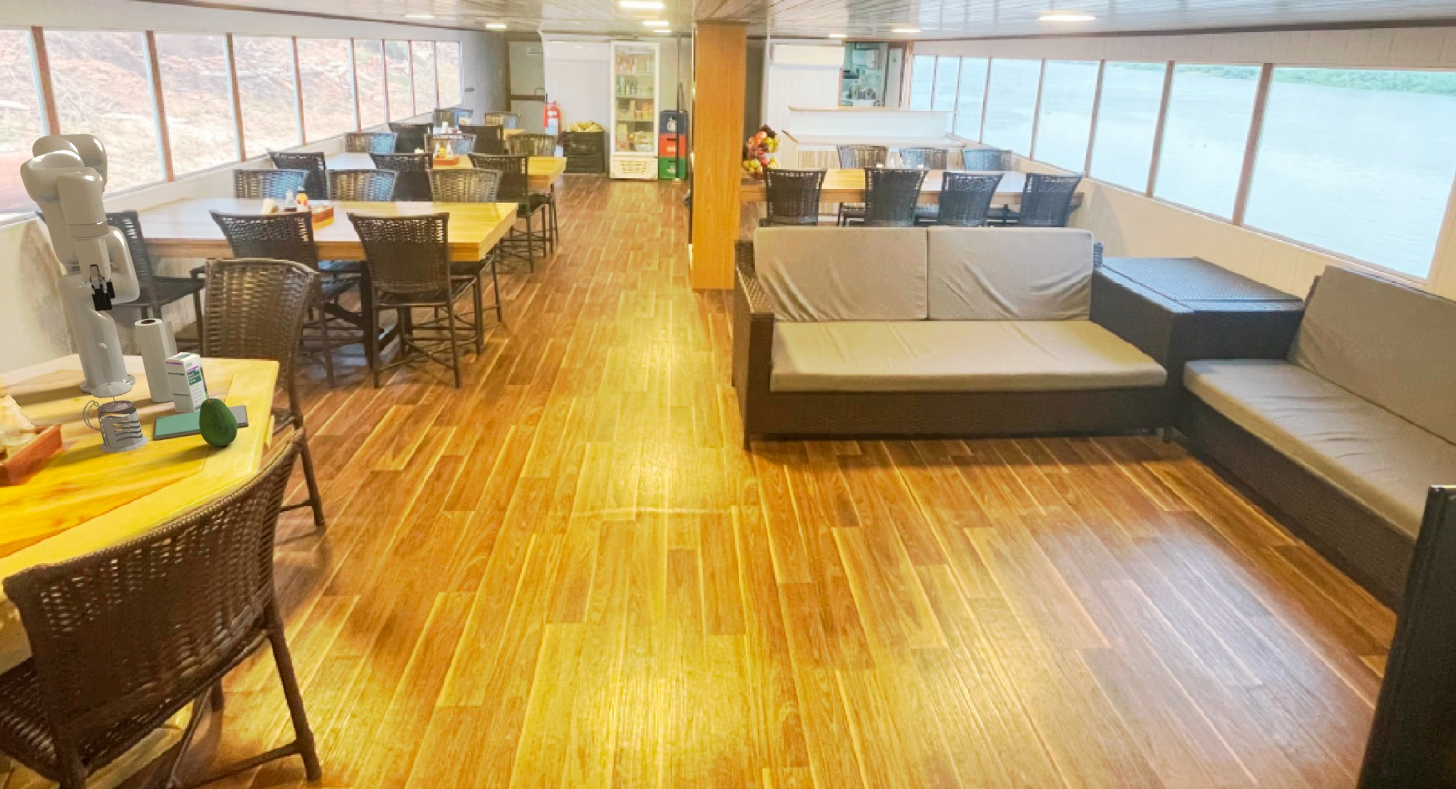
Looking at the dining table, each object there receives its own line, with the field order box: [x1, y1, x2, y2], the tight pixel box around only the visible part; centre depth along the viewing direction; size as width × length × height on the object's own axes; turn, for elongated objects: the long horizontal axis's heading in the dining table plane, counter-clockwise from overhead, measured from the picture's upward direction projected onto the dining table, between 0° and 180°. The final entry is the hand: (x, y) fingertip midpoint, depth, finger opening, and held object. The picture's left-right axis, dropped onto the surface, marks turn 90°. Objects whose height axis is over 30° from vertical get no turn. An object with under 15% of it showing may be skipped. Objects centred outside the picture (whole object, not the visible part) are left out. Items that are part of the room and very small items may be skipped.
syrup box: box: [164, 351, 210, 414], centre depth 230 cm, size 6×6×14 cm
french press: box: [82, 343, 150, 454], centre depth 208 cm, size 10×12×25 cm
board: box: [153, 404, 249, 441], centre depth 225 cm, size 13×20×1 cm, turn 119°
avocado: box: [199, 397, 239, 447], centre depth 212 cm, size 8×8×12 cm
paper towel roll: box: [134, 318, 179, 403], centre depth 234 cm, size 7×6×21 cm
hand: (105, 304), depth 206 cm, fingers open, 9 cm apart
